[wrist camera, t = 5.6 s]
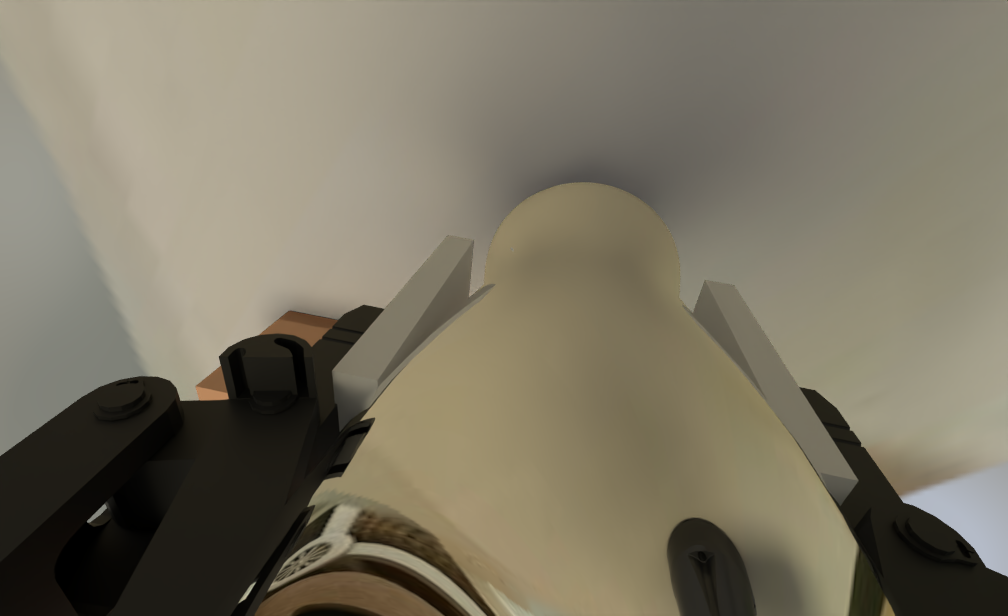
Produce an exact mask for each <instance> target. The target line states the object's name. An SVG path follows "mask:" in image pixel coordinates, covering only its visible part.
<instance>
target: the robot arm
mask: <svg viewBox="0 0 1008 616" xmlns="http://www.w3.org/2000/svg"><path fill="white" fill-rule="evenodd" d="M473 244H474V240H472V239H466V238H460V237H455V236H449V235H448V236H447V237H446V238H445V239H444V241H443V242H442V243H441V244H440V245H439V246H438V248H437V249H436V250H435V251H434V252H433V253H432V255H431V256H430V257H429V258H428V259H427V260H426V262H425V263H424V264H423V265H422V266H421V267H420V269H419V270H418V271H417V272H416V273H415V274H414V276H413V277H412V278H411V279H410V280H409V281H408V283H407V284H406V285H405V286H404V287H403V288H402V290H401V291H400V292H399V293H398V294H397V295H396V297H395V298H394V299H393V300H392V301H391V302H390V304H389V305H388V306H387V307H386V308H385V309H382V308H377V307H372V306H367V305H362V306H360V307H358V308H356V309H354V310H352V311H350V312H348V313H345V314H344V315H343V316H342V317H341V318H340V319H339V320H338V321H337V322H336V323H335V324H334V325H333V326H332V329H329V330H328V331H327V332H326V333H325V334H324V335H323V336H322V339H319V340H318V341H317V342H316V343H315V344H314V345H313V346H312V347H311V346H310V344H309V343H308V342H307V341H306V340H304V339H302V338H300V337H297V336H295V335H288V334H280V333H276V334H264V335H258V336H255V337H251V338H247V339H244V340H242V341H240V342H238V343H236V344H234V345H232V346H230V347H228V348H227V349H226V350H225V351H224V352H223V353H222V354H221V355H220V356H219V360H220V364H221V368H222V372H223V376H224V381H225V385H226V389H227V393H228V397H229V399H225V400H198V401H180V398H179V395H178V392H177V388H176V387H175V386H174V385H173V384H172V383H171V381H169V380H166V379H163V378H160V377H147V376H139V377H133V378H128V379H122V380H118V381H115V382H112V383H110V384H107V385H104V386H101V387H99V388H97V389H95V390H94V391H92V392H90V393H88V394H87V395H85V396H83V397H81V398H80V399H79V400H77V401H76V402H75V403H73V404H72V405H70V406H69V407H68V408H66V409H65V410H64V411H62V412H61V413H59V414H58V415H57V416H55V417H54V418H52V419H51V420H50V421H48V422H47V423H45V424H44V425H43V426H42V427H40V428H39V429H37V430H36V431H35V432H33V433H32V434H30V435H29V436H28V437H26V438H25V439H23V440H22V441H21V442H19V443H18V444H16V445H15V446H14V447H12V448H11V449H9V450H8V451H7V452H5V453H4V454H3V455H1V456H0V616H213V614H214V613H215V611H216V610H217V608H218V607H219V605H220V604H221V602H222V601H223V599H224V598H225V596H226V595H227V593H228V592H229V590H230V589H231V587H232V585H233V584H234V582H235V581H236V579H237V578H238V576H239V575H240V573H241V572H242V570H243V569H244V567H245V566H246V564H247V563H248V561H249V560H250V558H251V557H252V555H253V554H254V552H255V551H256V549H257V548H258V546H259V544H260V543H261V541H262V540H263V538H264V537H265V535H266V534H267V532H268V531H269V529H270V528H271V526H272V525H273V523H274V522H275V520H276V519H277V517H278V516H279V514H280V513H281V511H282V510H283V508H284V507H285V505H286V504H287V502H288V501H289V499H290V498H291V496H292V495H293V494H294V492H295V491H296V490H297V488H298V487H299V486H300V485H301V483H302V482H303V481H304V479H305V478H306V477H307V475H308V474H309V473H310V471H311V470H312V469H313V467H314V466H315V465H316V463H317V462H318V461H319V459H320V458H321V457H322V455H323V454H324V453H325V451H326V450H327V449H328V447H329V446H330V445H331V443H332V442H333V441H334V439H335V438H336V437H337V435H338V434H339V433H340V431H341V430H342V429H343V427H344V426H345V425H346V423H347V422H348V421H349V419H350V418H351V417H352V415H353V414H354V413H355V412H356V410H357V409H358V408H359V407H360V406H361V405H362V404H363V402H364V401H365V400H366V399H367V398H368V397H369V396H370V395H371V394H372V393H373V392H374V391H375V390H376V388H377V387H378V386H379V385H380V384H381V383H382V382H383V381H384V380H385V379H386V378H387V377H388V376H389V375H390V373H391V372H392V371H393V370H394V369H395V368H396V367H397V366H398V365H399V364H400V363H401V362H402V361H403V360H404V358H405V357H406V356H407V355H408V354H409V353H410V352H411V351H412V350H413V349H414V348H415V347H416V346H417V345H418V344H419V343H420V342H422V341H423V340H424V339H425V338H426V337H427V336H428V335H429V334H430V333H431V332H432V331H433V330H434V329H436V328H437V327H438V326H439V325H440V324H441V323H442V322H443V321H444V320H445V319H446V318H447V317H448V316H450V315H451V314H452V313H453V312H454V311H455V310H456V309H457V308H458V307H460V306H461V305H462V304H463V303H464V302H465V301H466V300H468V299H469V290H470V278H471V267H472V256H473ZM693 314H694V315H695V317H696V318H697V319H698V320H699V321H700V322H701V323H702V324H703V325H704V326H705V328H706V329H707V330H708V331H709V332H710V333H711V334H712V335H713V337H714V338H715V339H716V340H717V341H718V342H719V343H720V345H721V346H722V347H723V348H724V349H725V350H726V352H727V353H728V354H729V355H730V356H731V357H732V358H733V360H734V361H735V362H736V363H737V364H738V365H739V366H740V368H741V369H742V370H743V371H744V372H745V373H746V374H747V376H748V377H749V378H750V379H751V380H752V382H753V383H754V384H755V385H756V387H757V388H758V389H759V391H760V392H761V393H762V395H763V396H764V397H765V399H766V400H767V401H768V403H769V404H770V405H771V407H772V408H773V409H774V411H775V412H776V413H777V415H778V416H779V417H780V419H781V420H782V421H783V423H784V424H785V425H786V427H787V428H788V429H789V431H790V432H791V433H792V435H793V436H794V437H795V439H796V440H797V441H798V443H799V444H800V445H801V447H802V448H803V449H804V451H805V452H806V453H807V455H808V456H809V457H810V459H811V460H812V461H813V463H814V464H815V466H816V467H817V469H818V470H819V472H820V474H821V475H822V477H823V479H824V480H825V482H826V484H827V485H828V487H829V489H830V490H831V492H832V494H833V495H834V497H835V499H836V500H837V502H838V504H839V505H840V507H841V509H842V510H843V512H844V514H845V515H846V517H847V519H848V520H849V522H850V524H851V525H852V527H853V529H854V530H855V532H856V534H857V535H858V537H859V539H860V540H861V542H862V544H863V545H864V547H865V548H866V550H867V552H868V553H869V555H870V557H871V558H872V560H873V562H874V563H875V565H876V567H877V568H878V570H879V572H880V573H881V575H882V577H883V578H884V580H885V582H886V583H887V585H888V587H889V588H890V590H891V592H892V593H893V595H894V597H895V598H896V600H897V602H898V604H899V606H900V608H901V610H902V612H903V614H904V615H905V616H1008V577H1007V576H1005V575H1002V574H1000V573H997V572H995V571H993V570H991V569H989V568H986V566H985V565H984V563H983V562H982V560H981V558H980V557H979V555H978V554H977V552H976V551H975V549H974V548H973V547H972V546H971V545H970V544H969V543H968V542H967V541H966V540H965V539H964V538H963V537H962V536H961V535H960V534H959V533H957V532H956V531H955V530H954V529H952V528H951V527H949V526H948V525H947V524H945V523H944V522H942V521H941V520H940V519H938V518H937V517H935V516H933V515H931V514H929V513H927V512H925V511H923V510H921V509H919V508H917V507H915V506H913V505H909V504H906V503H903V501H902V500H901V499H900V497H899V496H898V494H897V493H896V492H895V490H894V489H893V487H892V486H891V484H890V483H889V482H888V480H887V479H886V477H885V476H884V475H883V473H882V472H881V470H880V469H879V468H878V466H877V465H876V463H875V462H874V460H873V459H872V458H871V456H870V455H869V453H868V452H867V451H866V449H865V448H864V447H861V442H860V441H859V439H858V438H857V436H856V435H855V434H854V432H853V431H850V427H849V425H848V424H847V422H846V421H845V419H844V418H843V417H842V415H841V414H840V412H839V411H838V410H837V408H836V407H834V406H833V405H832V404H831V403H830V402H828V401H827V400H826V399H825V398H824V397H822V396H821V395H820V394H819V393H818V392H816V391H815V390H811V389H806V388H801V387H799V386H798V385H797V383H796V382H795V380H794V379H793V377H792V375H791V374H790V372H789V371H788V369H787V368H786V366H785V364H784V363H783V361H782V360H781V358H780V357H779V355H778V353H777V352H776V350H775V349H774V347H773V346H772V344H771V342H770V341H769V339H768V338H767V336H766V335H765V333H764V331H763V330H762V328H761V327H760V325H759V324H758V322H757V321H756V319H755V317H754V316H753V314H752V313H751V311H750V310H749V308H748V306H747V305H746V303H745V302H744V300H743V299H742V297H741V295H740V294H739V292H738V291H737V289H736V288H735V286H734V285H730V284H725V283H719V282H713V281H708V280H705V281H704V284H703V287H702V290H701V292H700V295H699V298H698V300H697V303H696V306H695V308H694V311H693ZM104 504H106V506H107V509H106V510H105V511H104V512H103V513H102V514H101V515H100V516H98V517H97V518H96V519H94V520H93V521H92V522H90V523H87V520H88V519H89V518H90V517H91V516H92V515H93V514H94V513H95V512H96V511H97V510H98V509H99V508H101V507H102V505H104Z"/></svg>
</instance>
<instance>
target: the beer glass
mask: <svg viewBox="0 0 1008 616" xmlns="http://www.w3.org/2000/svg"><path fill="white" fill-rule="evenodd" d="M679 294H680V262H679V256H678V252H677V248H676V245H675V242H674V240H673V237H672V235H671V233H670V231H669V229H668V228H667V226H666V224H665V223H664V222H663V220H662V219H661V218H660V216H659V215H658V214H657V213H656V212H655V211H654V210H653V209H652V208H651V207H650V206H648V205H647V204H646V203H645V202H643V201H642V200H640V199H639V198H637V197H636V196H634V195H632V194H630V193H628V192H626V191H624V190H621V189H619V188H616V187H613V186H609V185H605V184H599V183H591V182H576V183H567V184H561V185H557V186H553V187H550V188H547V189H545V190H542V191H540V192H538V193H536V194H534V195H532V196H530V197H529V198H527V199H525V200H524V201H523V202H521V203H520V204H519V205H517V206H516V207H515V208H514V209H513V210H512V211H511V212H510V213H509V214H508V215H507V216H506V218H505V219H504V220H503V222H502V223H501V224H500V226H499V228H498V229H497V231H496V233H495V235H494V237H493V239H492V242H491V245H490V247H489V251H488V254H487V259H486V265H485V274H484V284H483V285H482V286H481V287H480V288H479V289H478V290H477V291H476V292H475V293H474V294H473V295H472V296H471V297H470V298H469V299H468V300H466V301H465V302H464V303H463V304H462V305H461V306H460V307H458V308H457V309H456V310H455V311H454V312H453V313H452V314H451V315H450V316H448V317H447V318H446V319H445V320H444V321H443V322H442V323H441V324H440V325H439V326H438V327H437V328H436V329H434V330H433V331H432V332H431V333H430V334H429V335H428V336H427V337H426V338H425V339H424V340H423V341H422V342H420V343H419V344H418V345H417V346H416V347H415V348H414V349H413V350H412V351H411V352H410V353H409V354H408V355H407V356H406V357H405V358H404V360H403V361H402V362H401V363H400V364H399V365H398V366H397V367H396V368H395V369H394V370H393V371H392V372H391V373H390V375H389V376H388V377H387V378H386V379H385V380H384V381H383V382H382V383H381V384H380V385H379V386H378V387H377V388H376V390H375V391H374V392H373V393H372V394H371V395H370V396H369V397H368V398H367V399H366V400H365V401H364V402H363V404H362V405H361V406H360V407H359V408H358V409H357V410H356V412H355V413H354V414H353V415H352V417H351V418H350V419H349V421H348V422H347V423H346V425H345V426H344V427H343V429H342V430H341V431H340V433H339V434H338V435H337V437H336V438H335V439H334V441H333V442H332V443H331V445H330V446H329V447H328V449H327V450H326V451H325V453H324V454H323V455H322V457H321V458H320V459H319V461H318V462H317V463H316V465H315V466H314V467H313V469H312V470H311V471H310V473H309V474H308V475H307V477H306V478H305V479H304V481H303V482H302V483H301V485H300V486H299V487H298V488H297V490H296V491H295V492H294V494H293V495H292V496H291V498H290V499H289V501H288V502H287V504H286V505H285V507H284V508H283V510H282V511H281V513H280V514H279V516H278V517H277V519H276V520H275V522H274V523H273V525H272V526H271V528H270V529H269V531H268V532H267V534H266V535H265V537H264V538H263V540H262V541H261V543H260V544H259V546H258V548H257V549H256V551H255V552H254V554H253V555H252V557H251V558H250V560H249V561H248V563H247V564H246V566H245V567H244V569H243V570H242V572H241V573H240V575H239V576H238V578H237V579H236V581H235V582H234V584H233V585H232V587H231V589H230V590H229V592H228V593H227V595H226V596H225V598H224V599H223V601H222V602H221V604H220V605H219V607H218V608H217V610H216V611H215V613H214V614H213V616H905V615H904V614H903V612H902V610H901V608H900V606H899V604H898V602H897V600H896V598H895V597H894V595H893V593H892V592H891V590H890V588H889V587H888V585H887V583H886V582H885V580H884V578H883V577H882V575H881V573H880V572H879V570H878V568H877V567H876V565H875V563H874V562H873V560H872V558H871V557H870V555H869V553H868V552H867V550H866V548H865V547H864V545H863V544H862V542H861V540H860V539H859V537H858V535H857V534H856V532H855V530H854V529H853V527H852V525H851V524H850V522H849V520H848V519H847V517H846V515H845V514H844V512H843V510H842V509H841V507H840V505H839V504H838V502H837V500H836V499H835V497H834V495H833V494H832V492H831V490H830V489H829V487H828V485H827V484H826V482H825V480H824V479H823V477H822V475H821V474H820V472H819V470H818V469H817V467H816V466H815V464H814V463H813V461H812V460H811V459H810V457H809V456H808V455H807V453H806V452H805V451H804V449H803V448H802V447H801V445H800V444H799V443H798V441H797V440H796V439H795V437H794V436H793V435H792V433H791V432H790V431H789V429H788V428H787V427H786V425H785V424H784V423H783V421H782V420H781V419H780V417H779V416H778V415H777V413H776V412H775V411H774V409H773V408H772V407H771V405H770V404H769V403H768V401H767V400H766V399H765V397H764V396H763V395H762V393H761V392H760V391H759V389H758V388H757V387H756V385H755V384H754V383H753V382H752V380H751V379H750V378H749V377H748V376H747V374H746V373H745V372H744V371H743V370H742V369H741V368H740V366H739V365H738V364H737V363H736V362H735V361H734V360H733V358H732V357H731V356H730V355H729V354H728V353H727V352H726V350H725V349H724V348H723V347H722V346H721V345H720V343H719V342H718V341H717V340H716V339H715V338H714V337H713V335H712V334H711V333H710V332H709V331H708V330H707V329H706V328H705V326H704V325H703V324H702V323H701V322H700V321H699V320H698V319H697V318H696V317H695V315H694V314H693V313H692V312H691V311H690V310H689V309H688V308H687V306H686V305H685V304H684V303H683V301H682V300H681V299H680V298H679Z"/></svg>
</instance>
